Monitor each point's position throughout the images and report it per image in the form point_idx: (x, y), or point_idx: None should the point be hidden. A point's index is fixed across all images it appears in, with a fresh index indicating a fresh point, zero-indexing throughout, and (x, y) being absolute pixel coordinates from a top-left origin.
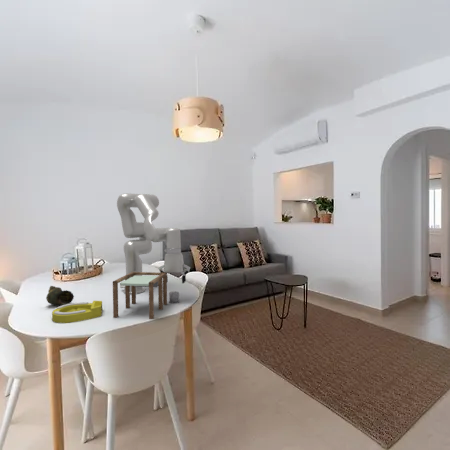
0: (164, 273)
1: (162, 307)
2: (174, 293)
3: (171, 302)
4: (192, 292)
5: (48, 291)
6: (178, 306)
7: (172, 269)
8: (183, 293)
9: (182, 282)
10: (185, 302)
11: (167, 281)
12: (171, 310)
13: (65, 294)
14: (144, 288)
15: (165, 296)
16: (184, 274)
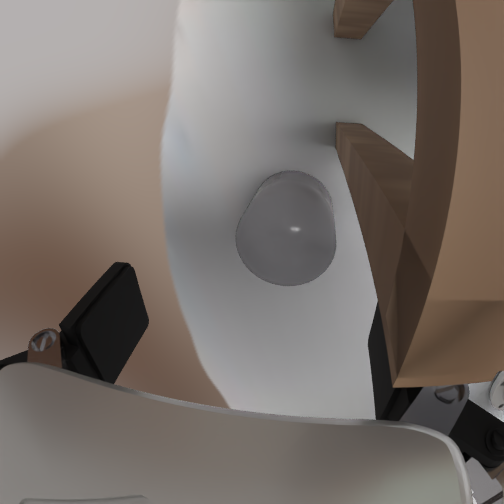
0: (487, 234)
1: (334, 29)
2: (272, 220)
3: (303, 174)
4: (228, 379)
5: None
6: (220, 101)
7: (157, 490)
8: (275, 369)
9: (120, 266)
10: (199, 200)
11: (369, 342)
12: (245, 8)
13: None
14: (494, 398)
15: (347, 131)
16: (37, 346)
